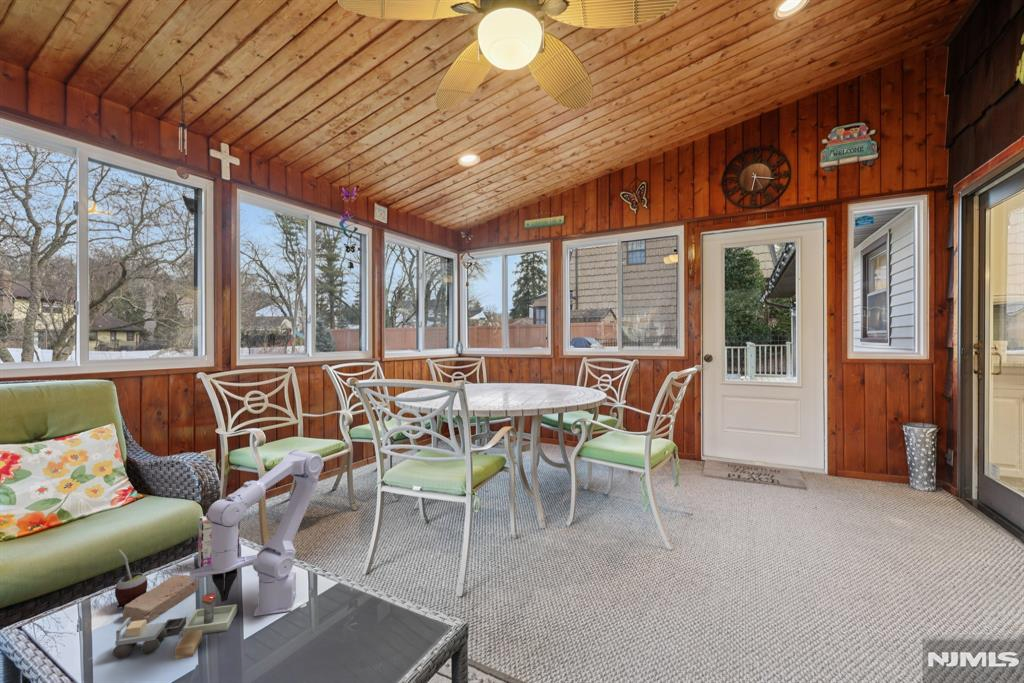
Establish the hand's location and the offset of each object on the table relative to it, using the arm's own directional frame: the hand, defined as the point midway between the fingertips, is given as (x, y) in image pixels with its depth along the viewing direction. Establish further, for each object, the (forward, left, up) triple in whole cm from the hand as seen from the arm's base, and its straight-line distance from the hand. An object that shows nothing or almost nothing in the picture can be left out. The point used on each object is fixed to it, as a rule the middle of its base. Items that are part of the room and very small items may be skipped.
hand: (224, 599), depth 114 cm
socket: (+14, -6, -10) cm, 18 cm away
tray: (+5, -7, -10) cm, 13 cm away
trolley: (+18, 0, -10) cm, 21 cm away
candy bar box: (+14, -41, -10) cm, 44 cm away
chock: (+7, +3, -10) cm, 13 cm away
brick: (+21, -19, -10) cm, 30 cm away
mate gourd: (+30, -21, -10) cm, 38 cm away
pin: (+6, -7, -9) cm, 13 cm away
